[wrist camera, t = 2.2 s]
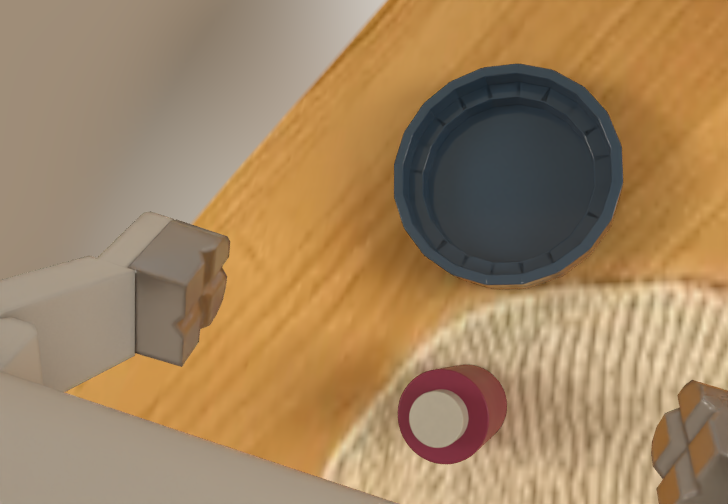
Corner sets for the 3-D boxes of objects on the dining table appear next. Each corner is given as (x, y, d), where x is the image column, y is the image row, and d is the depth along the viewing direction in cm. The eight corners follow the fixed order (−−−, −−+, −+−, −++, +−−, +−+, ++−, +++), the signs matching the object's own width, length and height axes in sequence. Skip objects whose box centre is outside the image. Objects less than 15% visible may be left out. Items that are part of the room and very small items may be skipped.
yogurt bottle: (475, 349, 49) (445, 350, 39) (523, 414, 47) (504, 434, 37) (415, 393, 50) (371, 405, 40) (459, 458, 48) (425, 489, 38)
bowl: (529, 45, 51) (524, 20, 47) (668, 200, 46) (675, 186, 42) (371, 173, 53) (354, 160, 50) (488, 331, 49) (479, 330, 45)
